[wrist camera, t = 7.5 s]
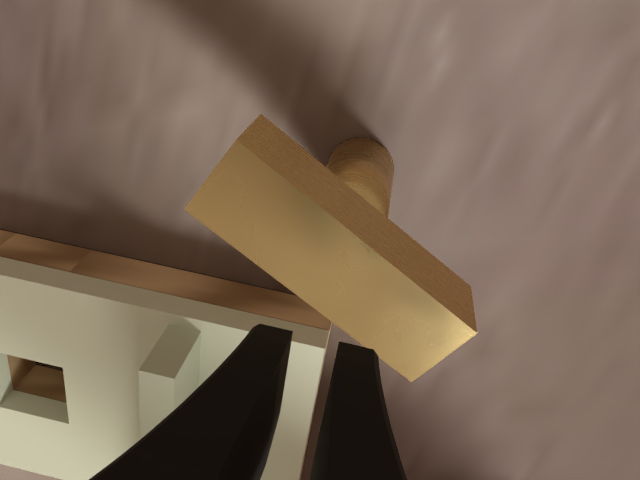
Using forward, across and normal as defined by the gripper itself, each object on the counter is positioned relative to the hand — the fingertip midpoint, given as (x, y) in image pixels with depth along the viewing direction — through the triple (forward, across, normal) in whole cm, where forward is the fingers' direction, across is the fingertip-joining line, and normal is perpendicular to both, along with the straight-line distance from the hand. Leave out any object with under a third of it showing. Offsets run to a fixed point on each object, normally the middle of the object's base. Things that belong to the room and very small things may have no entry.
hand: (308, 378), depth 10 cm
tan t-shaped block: (+10, 0, 0) cm, 10 cm away
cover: (+8, +7, +11) cm, 15 cm away
